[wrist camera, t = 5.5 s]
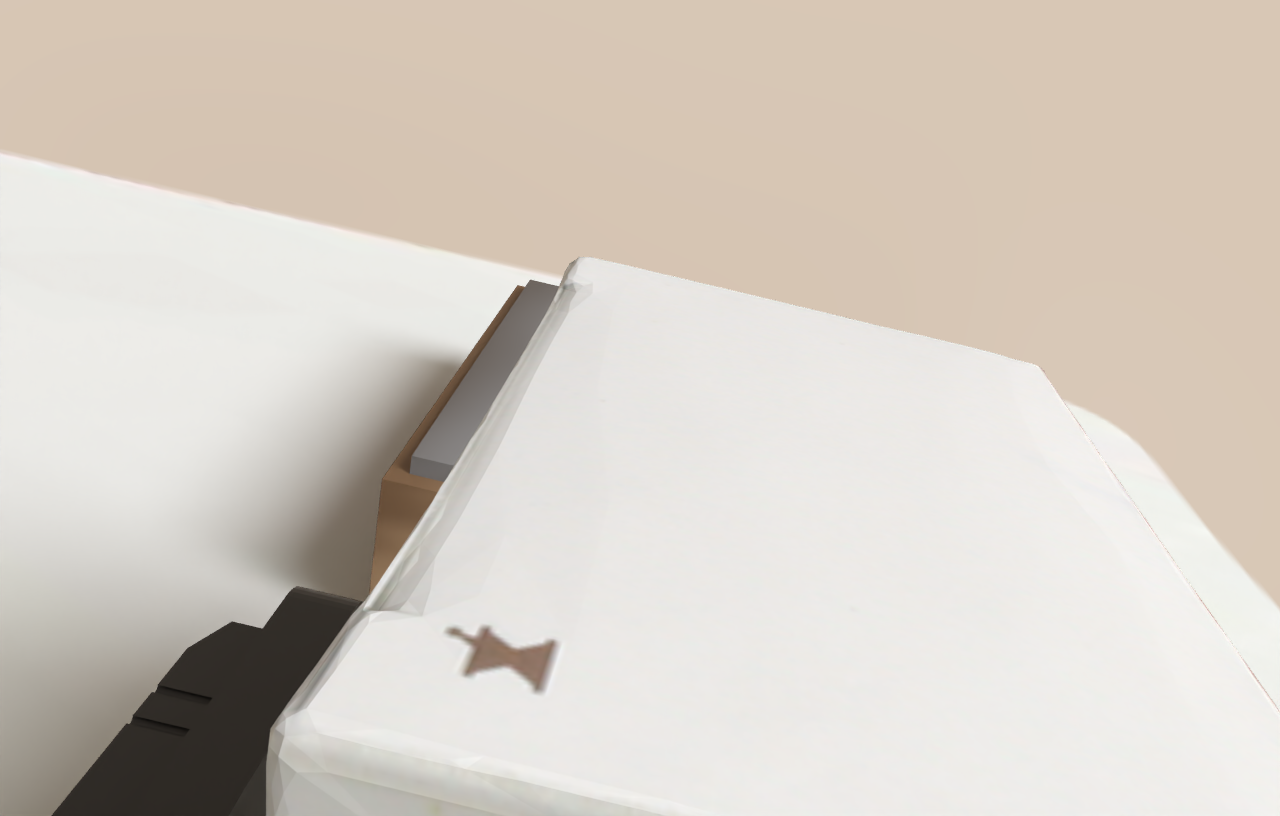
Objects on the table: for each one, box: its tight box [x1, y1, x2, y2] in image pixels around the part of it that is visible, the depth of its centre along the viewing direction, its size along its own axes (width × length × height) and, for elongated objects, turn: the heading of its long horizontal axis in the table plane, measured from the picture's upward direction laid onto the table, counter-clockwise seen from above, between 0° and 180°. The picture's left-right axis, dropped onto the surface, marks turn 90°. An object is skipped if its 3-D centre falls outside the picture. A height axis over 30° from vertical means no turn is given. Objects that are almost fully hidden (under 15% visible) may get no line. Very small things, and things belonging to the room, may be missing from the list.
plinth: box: [369, 280, 559, 594], centre depth 25 cm, size 12×12×4 cm
